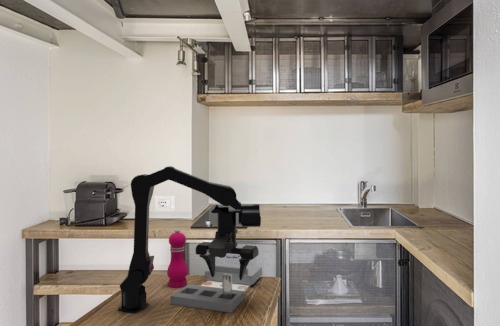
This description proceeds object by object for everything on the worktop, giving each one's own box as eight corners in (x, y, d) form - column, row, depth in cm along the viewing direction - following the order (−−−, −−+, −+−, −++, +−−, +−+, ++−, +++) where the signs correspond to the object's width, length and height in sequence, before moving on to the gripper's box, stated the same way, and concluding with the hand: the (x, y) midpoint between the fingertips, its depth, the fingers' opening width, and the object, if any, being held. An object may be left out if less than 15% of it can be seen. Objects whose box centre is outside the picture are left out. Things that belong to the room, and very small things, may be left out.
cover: (204, 279, 130) (204, 265, 130) (217, 270, 141) (217, 257, 141) (252, 285, 124) (252, 270, 124) (262, 275, 135) (262, 261, 135)
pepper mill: (191, 282, 130) (191, 226, 130) (182, 289, 123) (182, 230, 123) (173, 280, 132) (172, 226, 132) (163, 287, 125) (163, 229, 125)
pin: (220, 305, 109) (220, 275, 109) (224, 301, 111) (224, 272, 111) (229, 306, 108) (229, 276, 108) (233, 303, 110) (233, 273, 110)
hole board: (170, 304, 110) (170, 295, 110) (188, 291, 120) (188, 284, 120) (231, 312, 103) (231, 304, 103) (244, 298, 114) (244, 291, 114)
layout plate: (197, 289, 122) (197, 286, 122) (209, 280, 131) (209, 278, 131) (241, 294, 117) (241, 292, 117) (250, 285, 126) (250, 283, 126)
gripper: (186, 230, 105) (186, 283, 105) (246, 234, 99) (246, 291, 99) (203, 223, 115) (203, 272, 115) (258, 227, 109) (258, 278, 109)
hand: (226, 278), depth 110 cm, fingers open, 9 cm apart
